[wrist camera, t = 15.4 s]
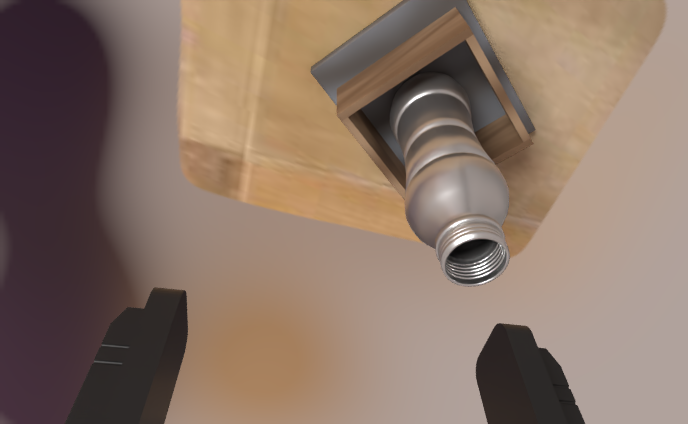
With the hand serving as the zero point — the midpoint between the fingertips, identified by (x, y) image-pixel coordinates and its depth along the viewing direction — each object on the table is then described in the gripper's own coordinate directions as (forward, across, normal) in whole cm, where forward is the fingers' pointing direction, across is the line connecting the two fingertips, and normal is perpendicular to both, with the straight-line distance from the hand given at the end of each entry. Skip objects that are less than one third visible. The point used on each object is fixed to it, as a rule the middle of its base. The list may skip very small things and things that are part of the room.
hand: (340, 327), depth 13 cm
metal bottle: (+31, -9, +7) cm, 33 cm away
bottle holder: (+32, -9, +7) cm, 34 cm away
